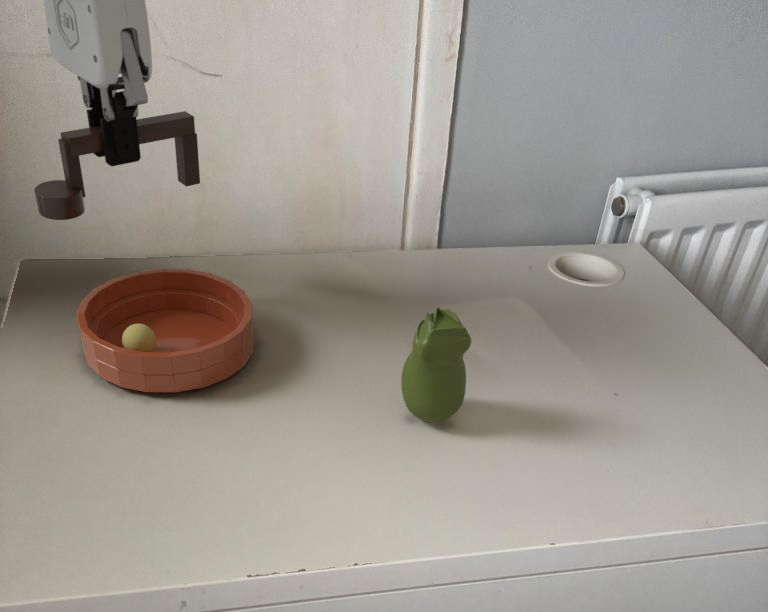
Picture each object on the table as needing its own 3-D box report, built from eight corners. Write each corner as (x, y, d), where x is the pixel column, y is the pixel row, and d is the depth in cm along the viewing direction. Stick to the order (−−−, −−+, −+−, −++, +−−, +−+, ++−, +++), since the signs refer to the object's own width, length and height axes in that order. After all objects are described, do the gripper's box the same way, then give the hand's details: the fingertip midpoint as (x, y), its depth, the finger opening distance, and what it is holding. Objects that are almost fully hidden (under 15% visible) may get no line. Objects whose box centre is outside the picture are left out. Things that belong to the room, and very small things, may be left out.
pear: (447, 393, 76) (461, 294, 69) (471, 427, 73) (488, 327, 66) (390, 402, 74) (399, 302, 68) (412, 438, 71) (423, 336, 64)
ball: (118, 352, 77) (113, 323, 74) (148, 342, 78) (143, 313, 76) (134, 367, 75) (130, 338, 73) (164, 356, 76) (160, 328, 74)
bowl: (56, 337, 78) (47, 297, 76) (198, 292, 86) (194, 254, 83) (137, 418, 70) (130, 377, 68) (286, 360, 78) (285, 320, 75)
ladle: (50, 224, 74) (36, 150, 69) (30, 207, 76) (15, 134, 71) (207, 188, 82) (203, 120, 78) (185, 173, 84) (180, 106, 80)
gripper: (-6, -104, 66) (40, 136, 78) (87, -63, 58) (121, 198, 70) (83, -106, 70) (113, 124, 82) (182, -67, 62) (198, 181, 74)
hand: (117, 156), depth 76 cm, fingers closed on ladle
